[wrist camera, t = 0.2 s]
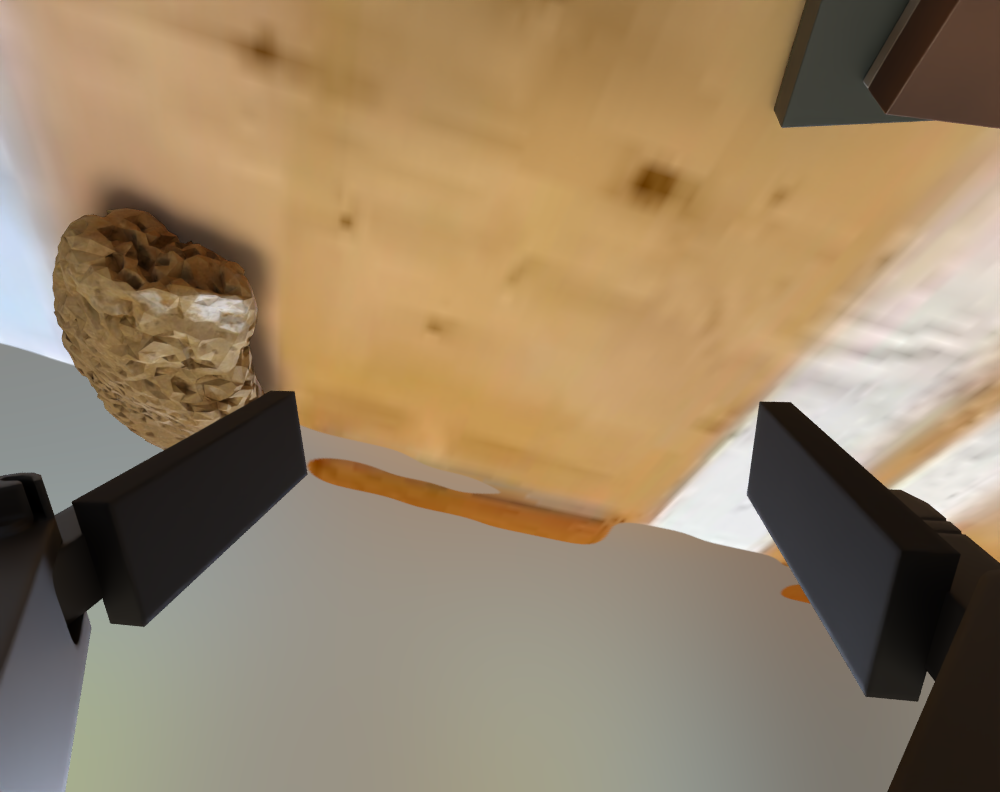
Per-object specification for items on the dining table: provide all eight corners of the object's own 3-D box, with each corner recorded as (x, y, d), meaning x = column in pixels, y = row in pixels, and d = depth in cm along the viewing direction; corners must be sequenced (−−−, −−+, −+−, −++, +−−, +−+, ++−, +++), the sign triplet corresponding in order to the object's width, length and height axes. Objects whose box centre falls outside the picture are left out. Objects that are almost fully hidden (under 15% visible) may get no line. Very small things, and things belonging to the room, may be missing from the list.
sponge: (85, 161, 28) (75, 400, 40) (21, 241, 23) (31, 489, 35) (333, 250, 34) (261, 435, 46) (327, 329, 29) (247, 514, 41)
